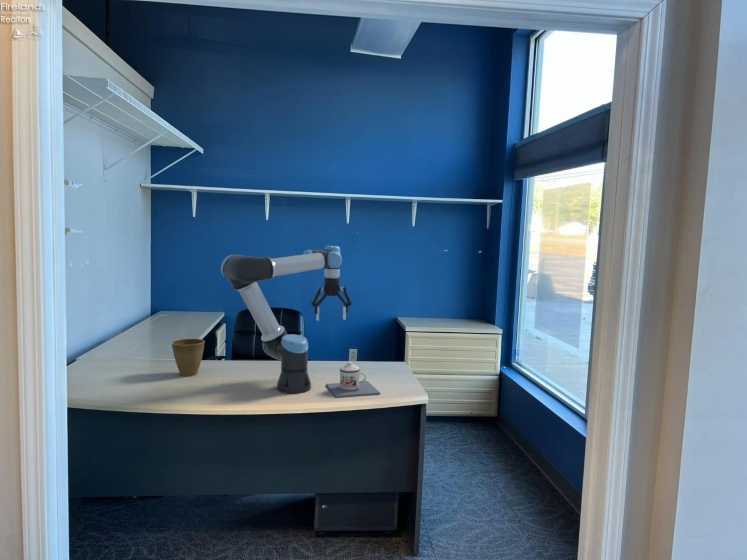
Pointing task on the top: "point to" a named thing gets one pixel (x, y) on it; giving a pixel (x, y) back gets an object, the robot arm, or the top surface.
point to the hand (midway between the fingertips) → (331, 319)
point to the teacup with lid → (350, 377)
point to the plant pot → (188, 355)
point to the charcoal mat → (363, 390)
